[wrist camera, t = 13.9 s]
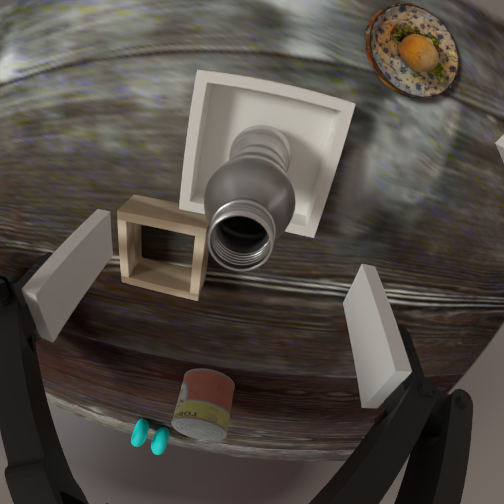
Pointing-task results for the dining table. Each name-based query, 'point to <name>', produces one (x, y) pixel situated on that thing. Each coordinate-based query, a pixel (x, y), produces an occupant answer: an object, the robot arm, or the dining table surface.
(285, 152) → the plastic bottle
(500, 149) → the milk
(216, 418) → the canned food
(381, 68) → the patterned ceramic bowl
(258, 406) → the dining table surface
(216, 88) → the plastic tray
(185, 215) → the wooden collar
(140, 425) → the turquoise yo-yo
